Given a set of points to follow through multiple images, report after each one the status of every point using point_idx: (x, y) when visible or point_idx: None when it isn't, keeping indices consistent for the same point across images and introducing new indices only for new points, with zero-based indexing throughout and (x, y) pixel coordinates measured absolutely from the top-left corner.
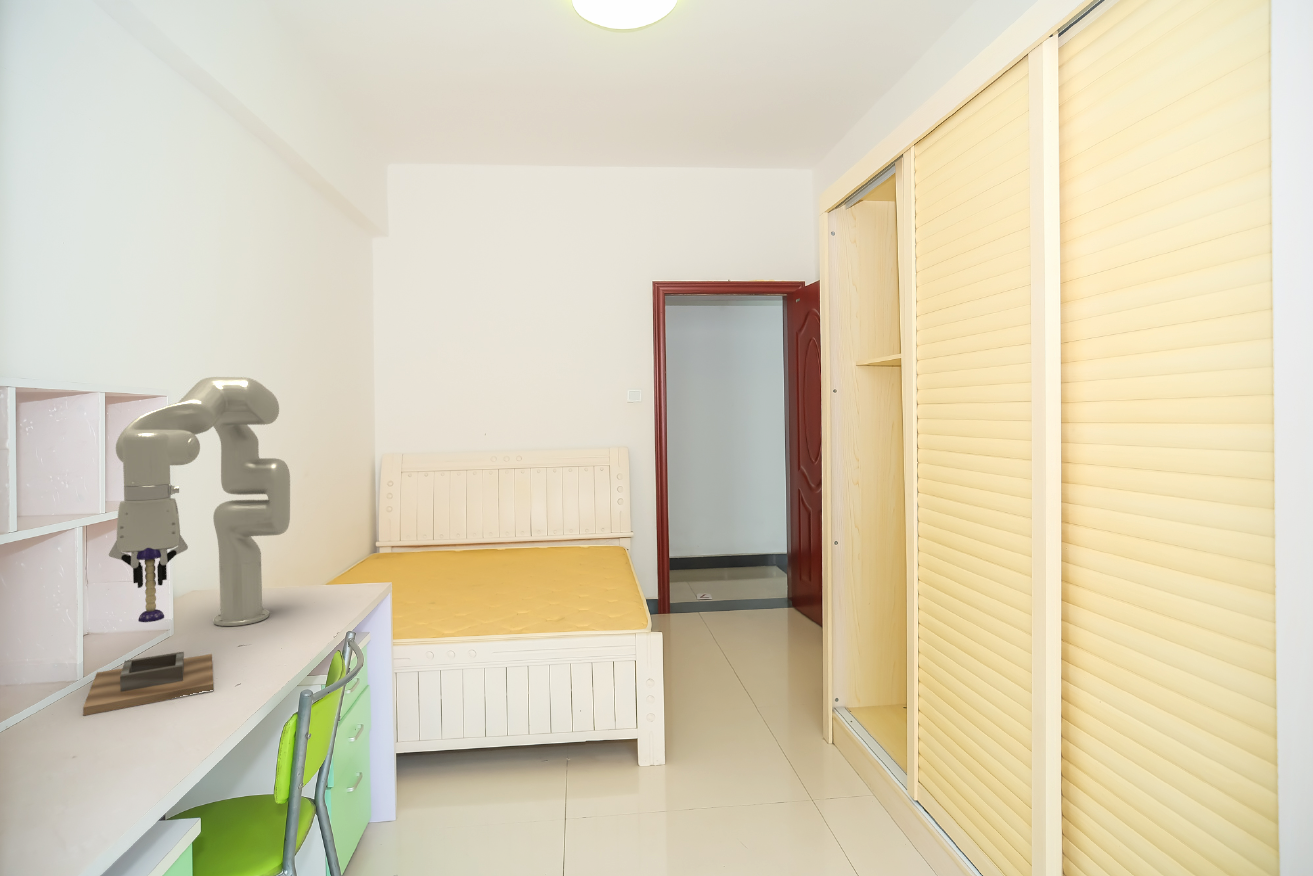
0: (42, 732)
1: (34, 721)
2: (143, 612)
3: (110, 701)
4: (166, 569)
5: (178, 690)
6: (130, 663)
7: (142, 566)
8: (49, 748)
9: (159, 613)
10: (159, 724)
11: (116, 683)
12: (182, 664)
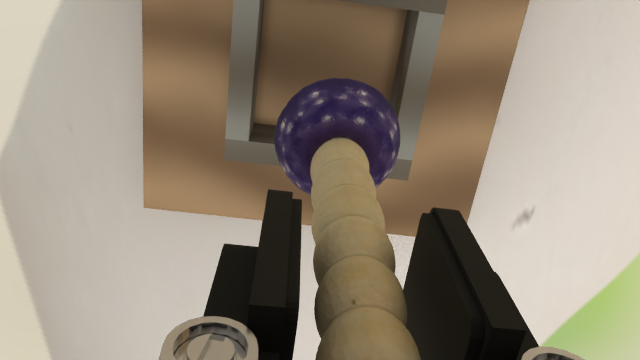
0: (74, 246)
1: (35, 155)
2: (299, 155)
3: (208, 206)
4: (523, 323)
5: None
6: (255, 18)
7: (296, 327)
8: (109, 343)
9: (376, 185)
10: (311, 353)
11: (217, 41)
12: (411, 162)
